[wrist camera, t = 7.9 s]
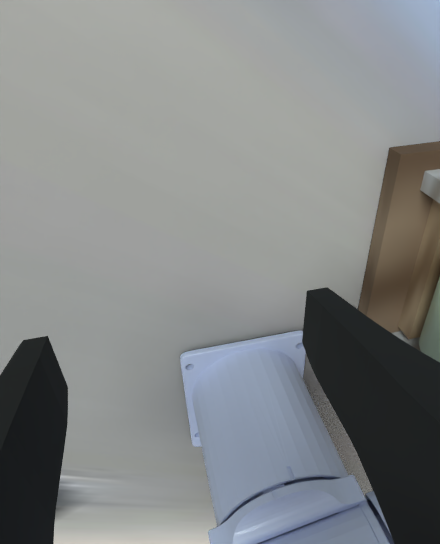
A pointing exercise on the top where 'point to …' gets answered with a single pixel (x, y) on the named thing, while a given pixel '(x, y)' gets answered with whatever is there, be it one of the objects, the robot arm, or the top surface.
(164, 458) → the top surface
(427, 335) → the roll
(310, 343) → the robot arm
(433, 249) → the holder
